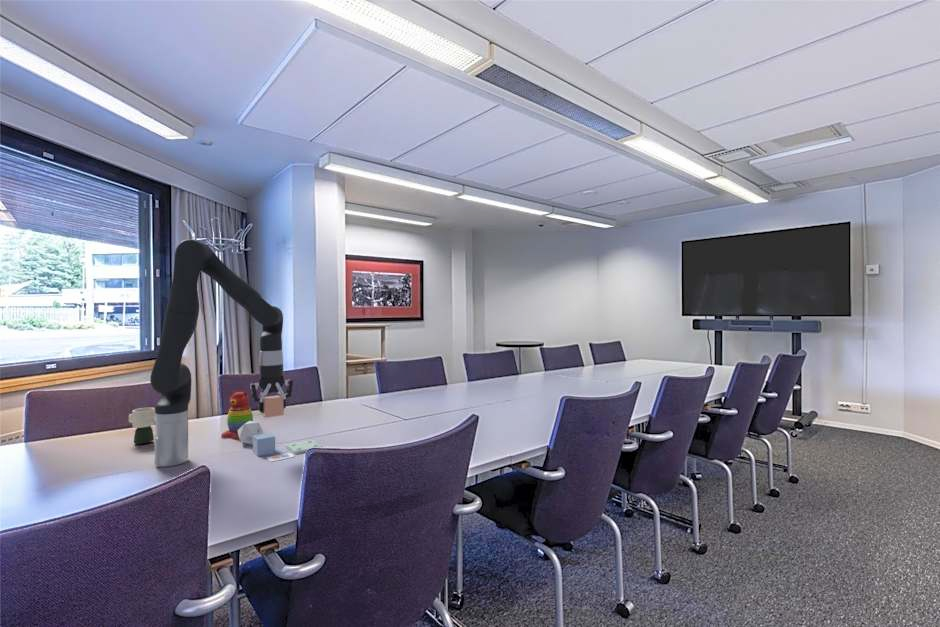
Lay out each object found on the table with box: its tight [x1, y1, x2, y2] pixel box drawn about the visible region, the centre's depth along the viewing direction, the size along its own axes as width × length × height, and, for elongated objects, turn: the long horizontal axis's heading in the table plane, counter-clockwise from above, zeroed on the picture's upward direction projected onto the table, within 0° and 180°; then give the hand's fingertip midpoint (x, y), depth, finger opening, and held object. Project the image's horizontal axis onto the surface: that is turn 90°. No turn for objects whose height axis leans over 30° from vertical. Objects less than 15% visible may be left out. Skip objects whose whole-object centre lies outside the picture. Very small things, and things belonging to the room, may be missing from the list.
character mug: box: [128, 406, 155, 445], centre depth 171 cm, size 11×7×13 cm, turn 94°
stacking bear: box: [221, 391, 254, 440], centre depth 182 cm, size 11×10×18 cm
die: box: [237, 420, 264, 446], centre depth 172 cm, size 8×9×10 cm
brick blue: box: [252, 432, 276, 457], centre depth 161 cm, size 6×6×6 cm
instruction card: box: [266, 452, 296, 463], centre depth 156 cm, size 8×5×1 cm, turn 129°
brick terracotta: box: [260, 394, 285, 419], centre depth 155 cm, size 6×6×6 cm
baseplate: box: [285, 439, 323, 455], centre depth 166 cm, size 10×10×1 cm
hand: (272, 411), depth 156 cm, fingers closed on brick terracotta, 6 cm apart
